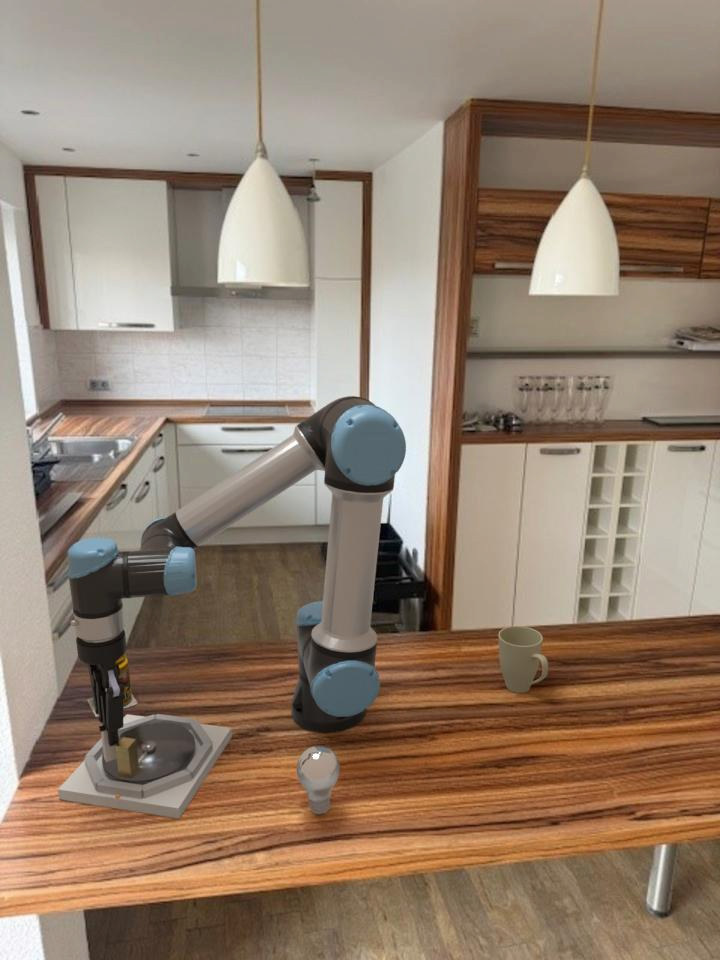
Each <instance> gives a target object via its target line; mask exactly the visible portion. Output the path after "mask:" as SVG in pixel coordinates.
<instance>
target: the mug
mask: <svg viewBox="0 0 720 960" xmlns="http://www.w3.org/2000/svg"><path fill="white" fill-rule="evenodd" d="M543 641H544V640H543V635H542V633H540V632H539V631H538V630H536V629H534V628H531V627H528V626H521V625H512V626H507V627H503V628H502V629H500V631H498V655H499V666H500V668H501V674H502V676H503V679H504V683H505V686H506V688H507V690H508V691H511V692H512V693H514V694H515V693H516V694H524V693H527V692H528V691H530V690H531V689H530V688H531V686H532V685H534V684H537V683H540V682H542V681H543V680H544V679H545V678H546V677H547V675H548V673H549V662H548V659H547V657H546V656H544V654H541V652H542V647H543ZM540 663H541V669H542V670H541V676H540V677H539V678H537V679H535V676H536V675H537V672H538V670H539V667H540ZM534 679H535V680H534Z"/></svg>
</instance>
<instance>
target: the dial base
mask: <svg viewBox="0 0 720 960" xmlns="http://www.w3.org/2000/svg"><path fill="white" fill-rule="evenodd" d="M152 723H172V724H176V725H180V726H182V727H184V728H186V729H188V730H189V731H190V732H191V733H192V735H193V736H194V739H195V747H196V748H195V755H194V757H193V759H192V760H191V762H190V763H189V764H188V766H186V767H185V768H184V769H183V770H182V771H179V772H177V773H174V774H171V775H169V776H166V777H163V778H161V779H158V780H155V781H153V782H150V783H147V784H145V785H139V784H133V783H126V782H119V781H113V780H111V779H110V778H109V777H108V776H107V775H106V774H105V772H104V770H103V765H102V756H103V744H102V737H101V738H100V739H99V740H98V741H97V742H96V744H95V745H93V747H92V748H91V749H90V750H89V751H88V752H87V753H86V754H85V756H84V760H83V761H82V763H81V764H80V765H79V766H78V767H77V768H76V769H75V770H74V771H73V772H72V774H71V775H69V777H68V778H67V779H66V780H65V781H64V782H63V783H62V784H61V785H60V786H59V788H58V789H57V791H58V792H57V793H58V798H59V800H63V801H68V802H72V803H74V802H75V803H80V804H85V805H92V806H98V807H105V808H112V809H116V810H118V809H119V810H123V811H129V812H130V811H131V812H136V813H143V814H148V815H154V816H160V817H167V818H173V819H180V818H181V817H182V815H183V814H184V812H185V810H186V809H187V807H188V806H189V805H190V803H191V802H192V800H193V799H194V797H195V795H196V794H197V792H198V791H199V789H200V787H201V785H202V784H203V783H204V781H205V780H206V778H207V777H208V775H209V774H210V772H211V771H212V769H213V767H214V765H216V763H217V761H218V760H219V759H220V756H221V755H222V753H223V752H224V751H225V748H226V747H227V745H228V744H229V743H230V741H231V739H232V738H233V734H232V733H233V731H232V727H227V726H219V725H211V724H204V723H200V722H199V721H198V719H196V718H192V717H184V716H176V715H169V714H160V713H156V714H151V715H148V716H144V715H143V716H142V715H135V714H128V713H127V714H125V716H123V724H124V725H123V728H120V735H121V734H122V733H124V732H126V731H128V730H130V729H133V728H135V727H138V726H142V725H146V724H152Z"/></svg>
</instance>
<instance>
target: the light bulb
mask: <svg viewBox="0 0 720 960" xmlns="http://www.w3.org/2000/svg"><path fill="white" fill-rule="evenodd" d="M340 770H341V764H340V761H339V758H338V756H337V754H336V753H335V752H334V750H332V749H331V748H330V747H327V746H325V745H319V744H317V745H312V746H310V747H308V748H306V749H305V750H304V751H303V752H302V753H301V754H300V756H299V758H298V761H297V764H296V775H297V778H298V781H299V783H300V784H301V786H302V787H303V789H305V791H306V794H307V797H308V803H309V809H310V811H311V812H312V813H314V814H315V815H318V816H321V815H323V814H325V813H327V812H328V811H329V810H330V807H331V799H330V797H331V794H332V790H333V788H334V787H335V785H336V783H337V781H338V779H339V777H340V773H341V771H340Z"/></svg>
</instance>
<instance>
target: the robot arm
mask: <svg viewBox="0 0 720 960" xmlns="http://www.w3.org/2000/svg"><path fill="white" fill-rule="evenodd" d="M406 452H407V443H406V437H405V435H404V431H403V429H402V427H401V426H400V424H399V423H398V421H397V420H396V418H395V417H394V416H393V415H392V414H391V413H390V412H388V411H387V410H385V409H383V408H382V407H380V406H378V405H375V403H373V402H372V401H370V400H368V399H367V398H365V397H362V396H354V395H351V396H350V395H349V396H344V397H339V398H336V399H335V400H332V401H331V402H330V403H328V404H326V405H325V406H324V407H321V408H320V409H319V410H317V411H316V412H314V413H313V414H311V415H310V416H308V417H307V418H306V419H304V420H303V421H301V422H300V423H298V424H296V425H295V427H294V430H293V433H292V435H291V436H289V437H287V438H286V439H284V440H283V441H281V442H280V443H278V444H277V445H275V446H274V447H272V448H270V449H269V450H268V451H266V452H265V453H263V454H261V455H259V456H258V457H257V458H255V459H254V460H252V461H251V462H249V463H248V464H246V465H245V466H243V467H242V468H241V469H238V470H237V471H235V473H232V474H231V475H229V476H228V477H226V478H225V479H223V480H222V481H221V482H219V483H218V484H216V485H214V486H213V487H212V488H210V489H208V490H207V491H205V492H204V493H203V494H201V495H199V496H197V497H196V498H194V499H193V500H192V501H190V502H188V503H187V504H185V505H183V506H182V507H181V508H179V509H178V510H176V511H175V512H173V513H171V514H170V515H168V516H162V517H158V518H155V519H153V520H151V521H150V522H149V523H148V524H147V526H146V527H145V529H144V531H143V533H142V535H141V538H140V548H139V550H132V551H131V550H126V551H123V550H122V551H120V549H119V547H118V543H117V542H116V541H115V540H113V539H111V538H108V537H106V538H103V537H91V538H90V537H89V538H85V539H83V540H82V539H81V540H80V541H77V542H75V543H74V544H72V545H71V547H70V548H69V549H68V550H67V563H68V573H67V577H68V580H69V582H68V583H69V589H70V596H71V597H70V598H71V605H72V612H73V617H74V619H72V620H70V626H72V627H74V630H75V635H76V638H75V643H76V651H77V658H78V660H79V661H81V662H82V663H83V664H85V665H87V668H88V669H87V670H88V673H89V679H90V680H89V681H90V684H91V685H90V686H91V692H92V698H94V704H95V712H96V714H97V715H98V714H99V716H98V721H99V722H100V726H98V729H99V732H100V734H101V738H102V744H103V754H104V759H105V761H106V762H109V761H111V760H114V759H117V756H116V748H115V746H116V744H117V743H118V742H119V741H120V740H121V738H120V728H123V725H124V724H123V718H124V709H123V694H124V689H125V687H124V685H123V684H119V675H120V668H119V665H118V664H116V661H117V660H118V659H119V658H120V657H122V656H123V655H124V653H125V654H126V652H127V639H126V630H124V629H125V627H126V624H125V611H124V604H123V599H134V598H146V597H147V598H148V597H161V596H162V597H163V596H172V597H173V596H177V595H182V594H188V593H192V592H194V591H195V590H196V589H197V585H198V584H197V582H198V581H197V564H196V552H195V550H196V549H198V548H199V547H200V546H203V544H205V543H207V542H208V541H210V540H211V539H212V538H214V537H216V536H217V535H219V534H220V533H221V532H224V531H225V530H226V529H228V528H230V527H231V526H233V525H234V524H235V523H237V522H239V521H240V520H241V519H243V518H244V517H246V516H247V515H249V514H251V513H253V512H254V511H256V510H257V509H259V508H260V507H262V506H263V505H264V504H266V503H268V502H270V501H271V500H272V499H274V498H275V497H277V496H278V495H280V494H281V493H283V492H285V491H286V490H287V489H289V488H290V487H292V486H294V485H296V484H297V483H298V482H299V481H301V480H303V479H305V478H306V477H307V476H309V475H310V474H312V473H314V472H315V471H323V472H324V478H323V479H324V480H323V482H324V483H323V484H324V485H325V487H327V489H328V490H329V491H330V492H331V495H332V496H331V503H330V505H331V506H330V517H329V526H328V539H327V551H326V561H325V575H324V583H323V584H324V586H323V587H324V588H323V595H322V596H323V598H322V600H319V601H314V602H310V603H308V604H305V605H303V606H301V607H300V608H299V609H298V611H297V612H296V621H295V626H296V632H297V633H296V635H297V660H298V661H297V663H298V666H297V667H298V680H297V683H296V686H295V688H294V692H293V695H292V699H291V706H290V707H291V717H292V719H293V721H294V722H295V723H296V724H297V726H299V727H301V728H303V729H305V730H308V731H311V732H314V733H319V734H321V733H322V734H331V733H333V734H334V733H339V732H343V731H346V730H347V731H348V730H349V729H352V728H355V726H357V725H359V724H360V723H361V722H362V721H363V720H364V718H365V716H366V714H367V708H368V707H370V706H372V704H373V703H374V702H375V701H376V699H377V697H378V696H379V692H380V689H381V683H380V675H379V672H378V671H377V669H376V654H377V645H378V634H377V633H376V631H375V630H374V629H373V628H372V627H371V622H372V621H371V620H372V610H373V600H374V592H375V591H374V590H375V582H376V573H377V563H378V552H379V546H380V545H379V544H380V543H379V542H380V534H381V524H382V515H383V514H382V513H383V506H384V504H383V503H384V499H385V497H386V496H388V495H389V494H390V493H392V492H393V491H394V488H395V478H396V474H397V473H398V472H399V471H400V469H401V467H402V466H403V464H404V461H405V457H406Z"/></svg>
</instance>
